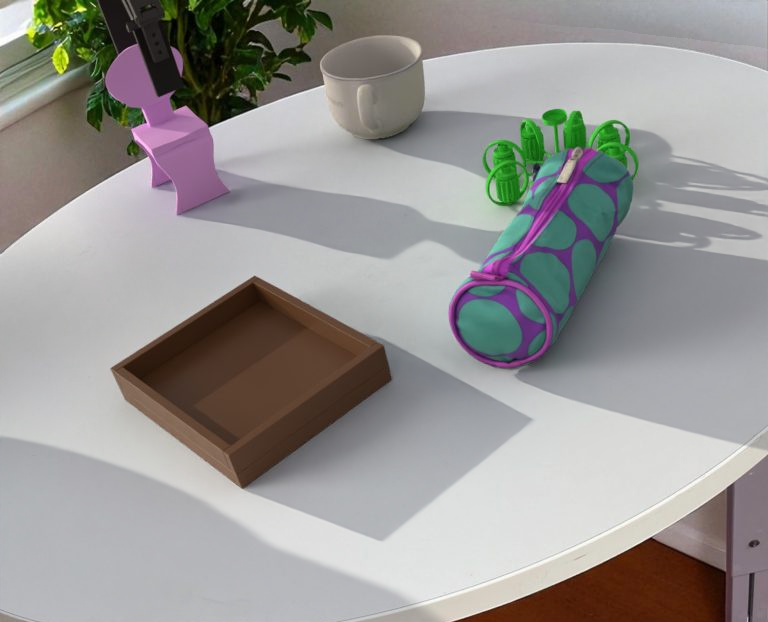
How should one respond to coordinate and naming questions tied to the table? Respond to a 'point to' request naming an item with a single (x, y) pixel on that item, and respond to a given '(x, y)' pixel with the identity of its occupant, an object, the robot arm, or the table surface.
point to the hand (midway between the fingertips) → (149, 69)
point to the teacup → (375, 85)
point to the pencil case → (542, 259)
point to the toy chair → (167, 133)
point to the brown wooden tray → (252, 378)
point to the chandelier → (535, 150)
